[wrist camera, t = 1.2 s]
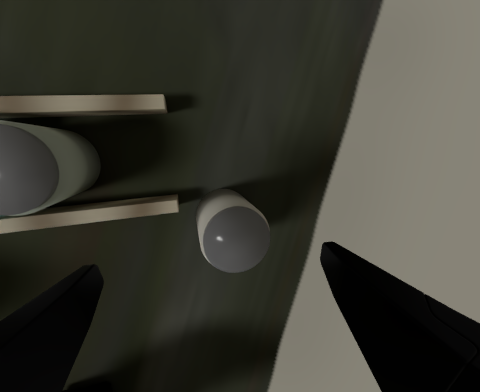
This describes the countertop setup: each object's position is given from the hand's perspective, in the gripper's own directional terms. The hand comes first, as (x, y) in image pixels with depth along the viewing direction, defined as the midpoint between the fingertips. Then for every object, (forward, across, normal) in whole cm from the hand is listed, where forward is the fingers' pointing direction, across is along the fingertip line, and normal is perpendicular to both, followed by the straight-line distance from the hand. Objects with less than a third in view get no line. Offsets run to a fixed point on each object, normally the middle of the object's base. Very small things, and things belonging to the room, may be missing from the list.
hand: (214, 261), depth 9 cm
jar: (+12, 0, +5) cm, 13 cm away
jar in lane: (+12, +12, -1) cm, 17 cm away
